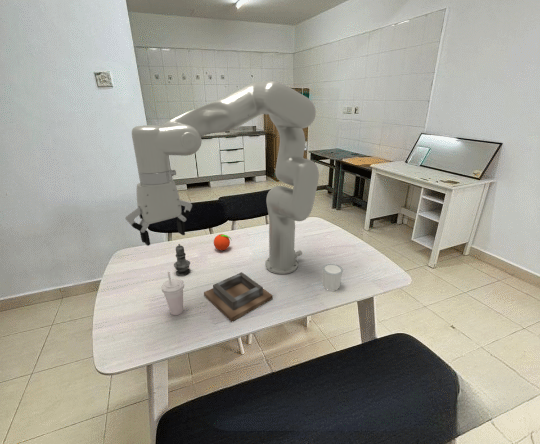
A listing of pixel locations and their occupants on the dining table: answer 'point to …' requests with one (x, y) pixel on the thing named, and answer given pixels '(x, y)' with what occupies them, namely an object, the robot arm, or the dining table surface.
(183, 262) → the chess piece
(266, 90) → the robot arm
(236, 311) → the socket block
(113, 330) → the dining table surface
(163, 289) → the smoothie
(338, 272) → the shot glass
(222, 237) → the clementine
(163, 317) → the dining table surface
